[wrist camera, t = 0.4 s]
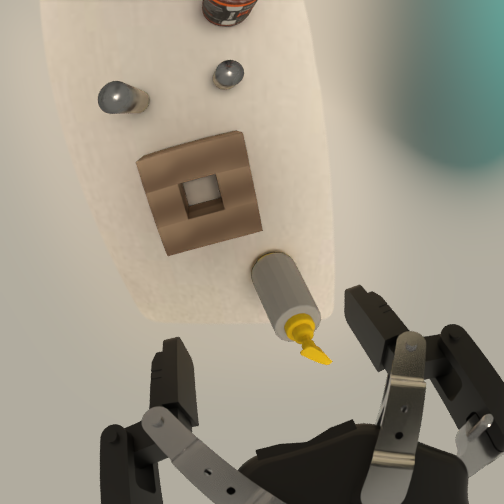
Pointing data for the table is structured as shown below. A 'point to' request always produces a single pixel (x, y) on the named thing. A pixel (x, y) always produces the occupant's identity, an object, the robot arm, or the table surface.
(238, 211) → the guide block
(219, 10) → the supplement bottle
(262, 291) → the soap bottle
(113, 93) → the tall pin
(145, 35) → the table surface
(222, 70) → the short pin
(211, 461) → the robot arm
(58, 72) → the table surface
